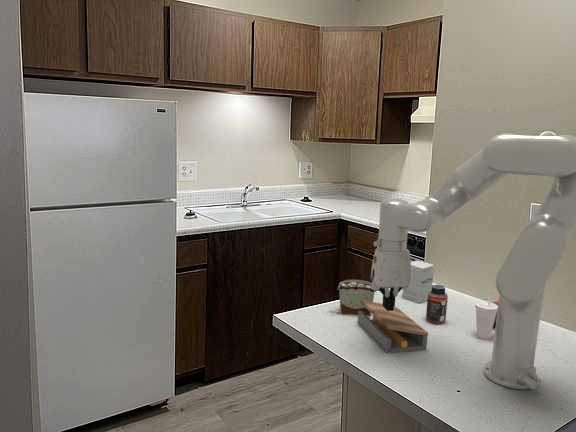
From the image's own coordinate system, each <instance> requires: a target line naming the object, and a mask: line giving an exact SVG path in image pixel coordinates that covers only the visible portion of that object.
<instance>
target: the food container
mask: <svg viewBox="0 0 576 432" xmlns="http://www.w3.org/2000/svg"><path fill="white" fill-rule="evenodd" d="M371 285H372V282H370V281H366V280H362V279H345V280H343V281H340V282H339V284H338V286H337V291H339V293H338V294H339V307H340V311H339V312H340V315H342V316H357V317H358V311H362V312H363V313H364V314H365V315H367V316H368V317H371V314H372V313H371V312H370V311H369V310H368V309H367V308H366V307H365V306H363V305H362V304H361V303H360V300H365V301H371V302H374V297H375V293H377V292H378V291H375V290H373V289H371Z"/></svg>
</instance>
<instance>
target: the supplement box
mask: <svg viewBox="0 0 576 432" xmlns="http://www.w3.org/2000/svg"><path fill="white" fill-rule="evenodd" d="M434 272H435V264H432V263H428V262H425V261H422V260H421V261H420V260H418V259H417V260H414V261H411V282H410V284H409V286H408V288H405V289H402V294H401V295H402V296H401V297H402V298H403V299H406V300H408V301H411V302H413V301H414V302H413V303H416V304H421V303H423V302H425V301H426V302H427V298H428V293H429V292H430V291H432V290H431V289H432V285H434V284H433V283H434Z"/></svg>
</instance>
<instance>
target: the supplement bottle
mask: <svg viewBox="0 0 576 432" xmlns="http://www.w3.org/2000/svg"><path fill="white" fill-rule="evenodd" d="M431 290H432V291H430V292H429V293H428V298H427V300H426V313H425V320H426V321H427V322H428V323H430V324H433V325H434V324H435V325H441V324H444V323H446V318H447V308H448V298H449V297H448V294H447V293H446V287H445V286H444V285H442V284H432V289H431Z"/></svg>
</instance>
